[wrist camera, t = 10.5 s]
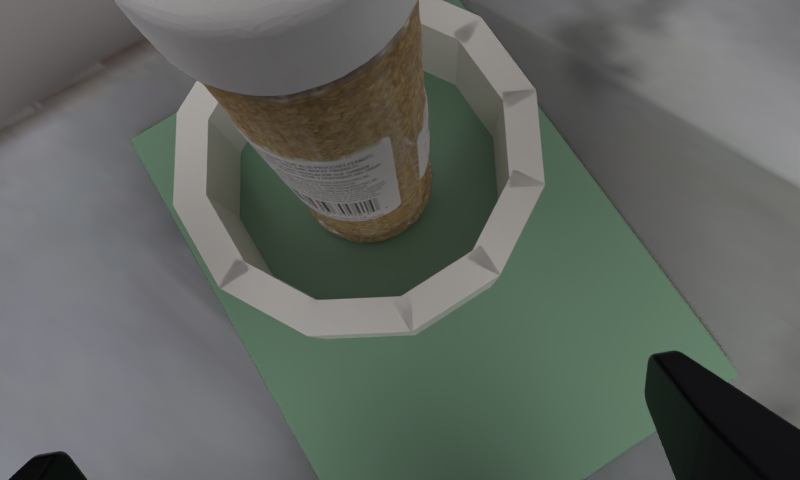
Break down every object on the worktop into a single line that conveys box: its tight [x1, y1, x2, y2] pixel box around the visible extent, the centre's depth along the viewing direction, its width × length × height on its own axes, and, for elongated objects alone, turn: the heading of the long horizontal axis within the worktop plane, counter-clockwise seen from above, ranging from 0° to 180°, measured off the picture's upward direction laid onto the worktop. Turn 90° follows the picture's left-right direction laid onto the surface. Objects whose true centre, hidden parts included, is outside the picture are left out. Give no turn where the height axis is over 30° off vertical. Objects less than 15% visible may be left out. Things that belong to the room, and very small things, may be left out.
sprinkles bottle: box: [114, 0, 433, 243], centre depth 13 cm, size 5×5×13 cm
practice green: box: [130, 0, 740, 480], centre depth 18 cm, size 18×13×4 cm
